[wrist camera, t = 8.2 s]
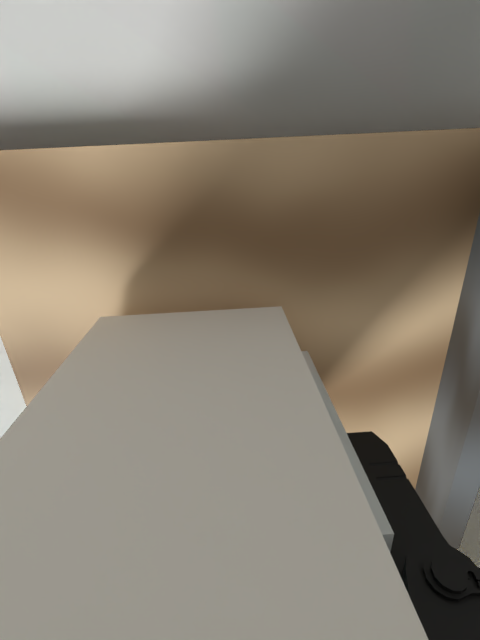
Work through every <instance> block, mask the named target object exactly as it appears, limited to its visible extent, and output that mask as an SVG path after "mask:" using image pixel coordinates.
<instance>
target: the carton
mask: <svg viewBox="0 0 480 640" xmlns="http://www.w3.org/2000/svg"><path fill="white" fill-rule="evenodd" d="M0 640H428V637H427V635H426V633H425V631H424V628H423V626H422V624H421V622H420V619H419V617H418V615H417V612H416V610H415V608H414V606H413V603H412V601H411V599H410V597H409V594H408V592H407V590H406V588H405V585H404V583H403V581H402V578H401V576H400V574H399V572H398V569H397V567H396V565H395V563H394V560H393V558H392V556H391V554H390V551H389V549H388V547H387V544H386V542H385V540H384V538H383V535H382V533H381V531H380V529H379V526H378V524H377V522H376V519H375V517H374V515H373V513H372V510H371V508H370V506H369V504H368V501H367V499H366V497H365V495H364V492H363V490H362V488H361V485H360V483H359V481H358V479H357V476H356V474H355V472H354V470H353V467H352V465H351V463H350V461H349V458H348V456H347V454H346V451H345V449H344V447H343V445H342V442H341V440H340V438H339V436H338V433H337V431H336V429H335V427H334V424H333V422H332V420H331V417H330V415H329V413H328V411H327V408H326V406H325V404H324V402H323V399H322V397H321V395H320V393H319V390H318V388H317V386H316V383H315V381H314V379H313V377H312V374H311V372H310V370H309V368H308V365H307V363H306V361H305V358H304V356H303V354H302V352H301V349H300V347H299V345H298V343H297V340H296V338H295V336H294V334H293V331H292V329H291V327H290V324H289V322H288V320H287V318H286V315H285V313H284V311H283V309H282V306H277V307H260V308H243V309H226V310H209V311H192V312H175V313H157V314H140V315H123V316H106V317H100V318H99V319H98V321H97V322H96V323H95V324H94V325H93V327H92V328H91V329H90V330H89V332H88V333H87V334H86V335H85V336H84V338H83V339H82V340H81V341H80V342H79V344H78V345H77V346H76V347H75V349H74V350H73V351H72V352H71V353H70V355H69V356H68V357H67V358H66V359H65V361H64V362H63V363H62V364H61V366H60V367H59V368H58V369H57V370H56V372H55V373H54V374H53V375H52V377H51V378H50V379H49V380H48V381H47V383H46V384H45V385H44V386H43V387H42V389H41V390H40V391H39V392H38V394H37V395H36V396H35V397H34V398H33V400H32V401H31V402H30V403H29V405H28V406H27V407H26V408H25V409H24V411H23V412H22V413H21V414H20V415H19V417H18V418H17V419H16V420H15V422H14V423H13V424H12V425H11V426H10V428H9V429H8V430H7V431H6V432H5V434H4V435H3V436H2V437H1V439H0Z"/></svg>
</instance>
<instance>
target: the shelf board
mask: <svg viewBox="0 0 480 640" xmlns="http://www.w3.org/2000/svg"><path fill="white" fill-rule="evenodd" d="M277 306H282V309H283V311H284V313H285V315H286V318H287V320H288V322H289V324H290V327H291V329H292V331H293V334H294V336H295V338H296V340H297V343H298V345H299V347H300V349H301V351H308V353H309V355H310V357H311V359H312V361H313V363H314V366H315V368H316V370H317V372H318V374H319V376H320V378H321V380H322V382H323V385H324V387H325V389H326V391H327V393H328V395H329V397H330V399H331V401H332V404H333V406H334V408H335V410H336V412H337V414H338V416H339V418H340V420H341V423H342V425H343V427H344V429H345V431H346V433H355V432H369V431H372V432H373V433H374V434H376V435H377V436H378V437H379V438H380V439H382V440H383V441H384V442H385V443H386V444H388V446H389V448H390V449H391V451H392V453H393V454H394V456H395V458H396V459H397V461H398V465H400V466H401V468H402V469H403V471H404V473H405V474H406V478H407V479H409V481H410V482H411V484H412V486H413V487H414V489H415V491H416V492H417V494H418V496H419V497H420V499H421V501H422V502H423V504H424V506H425V507H426V509H427V511H428V512H429V514H430V516H431V517H432V519H433V521H434V522H435V524H436V526H437V527H438V529H439V530H440V532H441V534H442V535H443V537H444V538H445V539H446V541H447V542H448V544H449V545H450V546H451V547H454V548H455V549H458V548H459V546H460V543H461V540H462V537H463V534H464V531H465V528H466V525H467V522H468V519H469V516H470V514H471V511H472V508H473V505H474V502H475V499H476V496H477V493H478V490H479V487H480V128H466V129H445V130H424V131H402V132H381V133H360V134H338V135H317V136H295V137H274V138H253V139H231V140H210V141H189V142H167V143H146V144H124V145H103V146H82V147H60V148H39V149H18V150H0V336H1V339H2V341H3V344H4V347H5V349H6V352H7V355H8V357H9V360H10V363H11V365H12V368H13V371H14V374H15V376H16V379H17V382H18V384H19V387H20V390H21V392H22V395H23V398H24V400H25V403H26V406H28V405H29V403H30V402H31V401H32V400H33V398H34V397H35V396H36V395H37V394H38V392H39V391H40V390H41V389H42V387H43V386H44V385H45V384H46V383H47V381H48V380H49V379H50V378H51V377H52V375H53V374H54V373H55V372H56V370H57V369H58V368H59V367H60V366H61V364H62V363H63V362H64V361H65V359H66V358H67V357H68V356H69V355H70V353H71V352H72V351H73V350H74V349H75V347H76V346H77V345H78V344H79V342H80V341H81V340H82V339H83V338H84V336H85V335H86V334H87V333H88V332H89V330H90V329H91V328H92V327H93V325H94V324H95V323H96V322H97V321H98V319H99V318H100V317H106V316H123V315H140V314H157V313H175V312H192V311H209V310H226V309H243V308H260V307H277Z"/></svg>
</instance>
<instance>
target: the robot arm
mask: <svg viewBox="0 0 480 640" xmlns="http://www.w3.org/2000/svg"><path fill="white" fill-rule="evenodd" d="M301 352H302V354H303V356H304V358H305V361H306V363H307V365H308V368H309V370H310V372H311V374H312V377H313V379H314V381H315V383H316V386H317V388H318V390H319V393H320V395H321V397H322V399H323V402H324V404H325V406H326V408H327V411H328V413H329V415H330V417H331V420H332V422H333V424H334V427H335V429H336V431H337V433H338V436H339V438H340V440H341V442H342V445H343V447H344V449H345V451H346V454H347V456H348V458H349V461H350V463H351V465H352V467H353V470H354V472H355V474H356V476H357V479H358V481H359V483H360V485H361V488H362V490H363V492H364V495H365V497H366V499H367V501H368V504H369V506H370V508H371V510H372V513H373V515H374V517H375V519H376V522H377V524H378V526H379V529H380V531H381V533H382V535H383V538H384V540H385V542H386V544H387V547H388V549H389V551H390V554H391V556H392V558H393V560H394V563H395V565H396V567H397V569H398V572H399V574H400V576H401V578H402V581H403V583H404V585H405V588H406V590H407V592H408V594H409V597H410V599H411V601H412V603H413V606H414V608H415V610H416V612H417V615H418V617H419V619H420V622H421V624H422V626H423V628H424V631H425V633H426V635H427V637H428V640H480V568H478V567H477V566H476V565H475V564H474V563H473V562H472V561H471V560H470V558H468V557H467V556H465V555H464V554H462V553H461V552H459V551H458V550H457V549H455V548H454V547H451V546H450V545H449V544H448V542H447V541H446V539H445V538H444V537H443V535H442V534H441V532H440V530H439V529H438V527H437V526H436V524H435V522H434V521H433V519H432V517H431V516H430V514H429V512H428V511H427V509H426V507H425V506H424V504H423V502H422V501H421V499H420V497H419V496H418V494H417V492H416V491H415V489H414V487H413V486H412V484H411V482H410V481H409V479H407V478H406V474H405V473H404V471H403V469H402V468H401V466H400V465H398V461H397V459H396V458H395V456H394V454H393V453H392V451H391V449H390V448H389V446H388V444H386V443H385V442H384V441H383V440H382V439H380V438H379V437H378V436H377V435H376V434H374V433H373V432H372V431H369V432H355V433H346V431H345V429H344V427H343V425H342V423H341V420H340V418H339V416H338V414H337V412H336V410H335V408H334V406H333V404H332V401H331V399H330V397H329V395H328V393H327V391H326V389H325V387H324V385H323V382H322V380H321V378H320V376H319V374H318V372H317V370H316V368H315V366H314V363H313V361H312V359H311V357H310V355H309V353H308V351H301Z"/></svg>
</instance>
